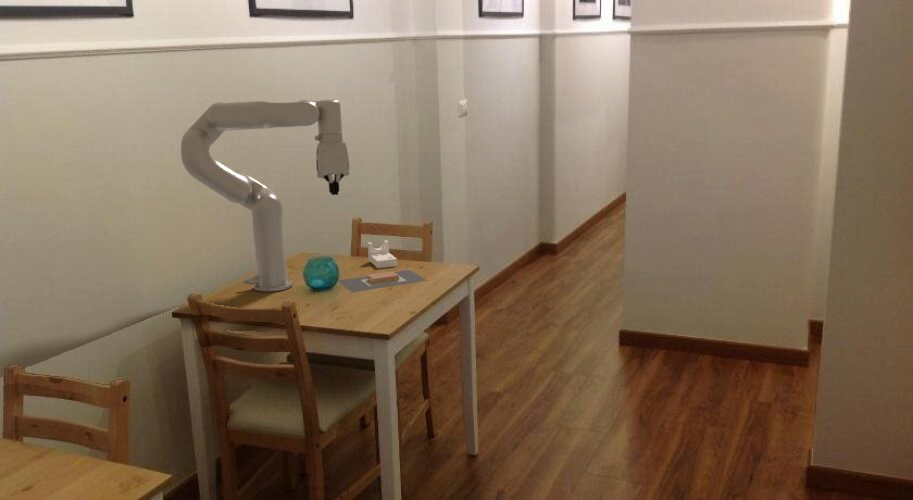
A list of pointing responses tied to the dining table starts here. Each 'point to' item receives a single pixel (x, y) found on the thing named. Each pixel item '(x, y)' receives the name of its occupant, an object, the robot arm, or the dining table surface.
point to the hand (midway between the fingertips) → (334, 194)
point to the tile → (383, 277)
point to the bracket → (381, 256)
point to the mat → (365, 284)
